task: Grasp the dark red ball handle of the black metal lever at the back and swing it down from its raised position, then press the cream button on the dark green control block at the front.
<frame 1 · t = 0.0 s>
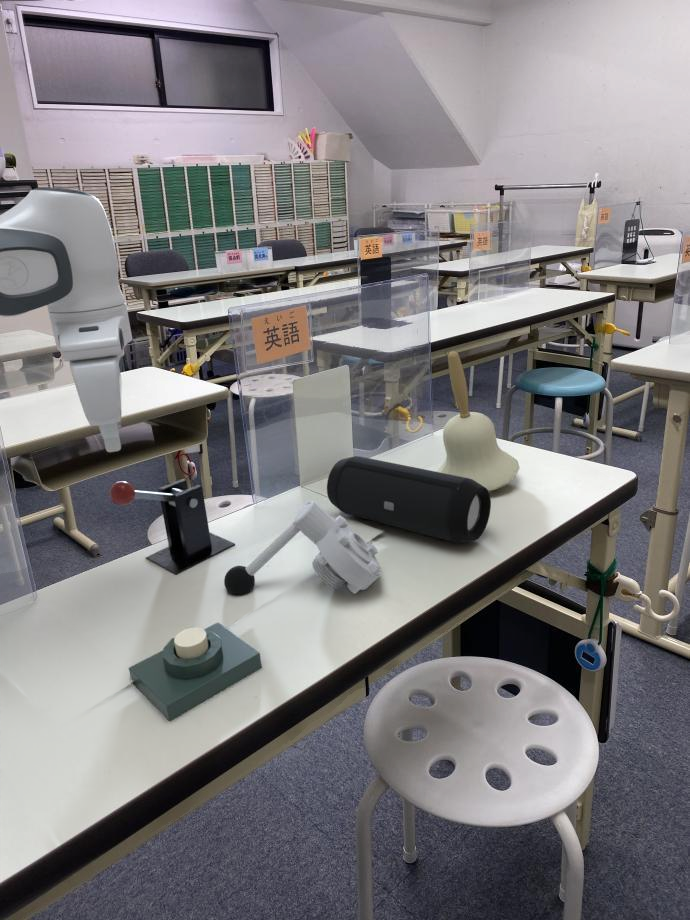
hand: (114, 438, 88), 23 cm above the table, tool pointing down, fingers open, 8 cm apart
lever: (152, 495, 98), point 12 cm above the table, hinge at 25.0°
portable speaker: (406, 526, 110), on the table
control block: (197, 675, 79), on the table
button: (191, 643, 77), point 5 cm above the table, slide at 0.2 cm
handbell: (476, 482, 125), on the table
mechanical valve: (304, 590, 95), on the table
bracket: (192, 557, 106), on the table
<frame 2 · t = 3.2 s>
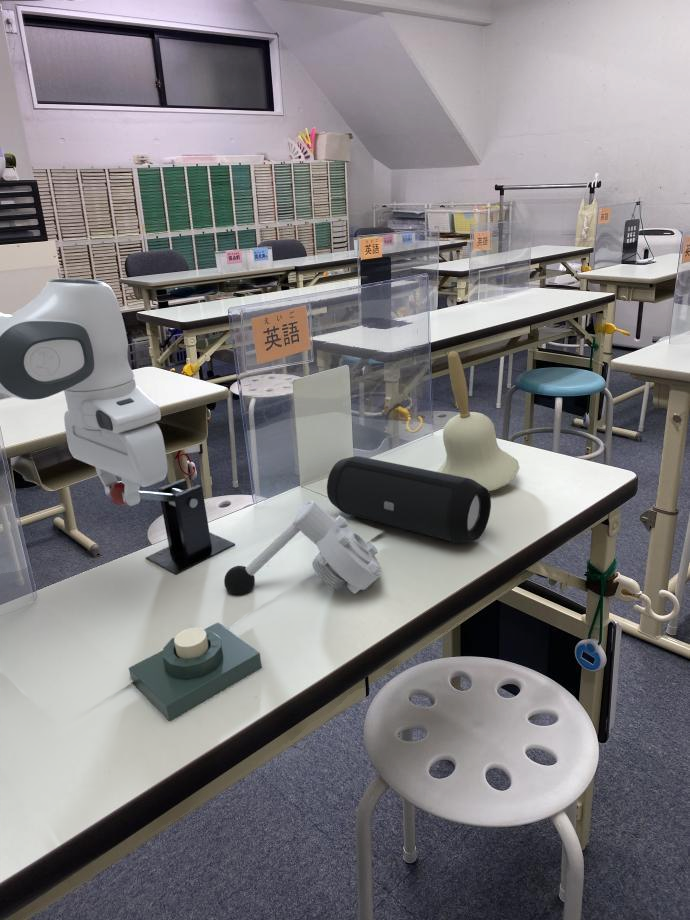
hand: (123, 499, 95), 13 cm above the table, tool pointing down, fingers closed on lever, 3 cm apart
lever: (152, 495, 98), point 12 cm above the table, hinge at 25.0°, touching gripper
everything else where it was.
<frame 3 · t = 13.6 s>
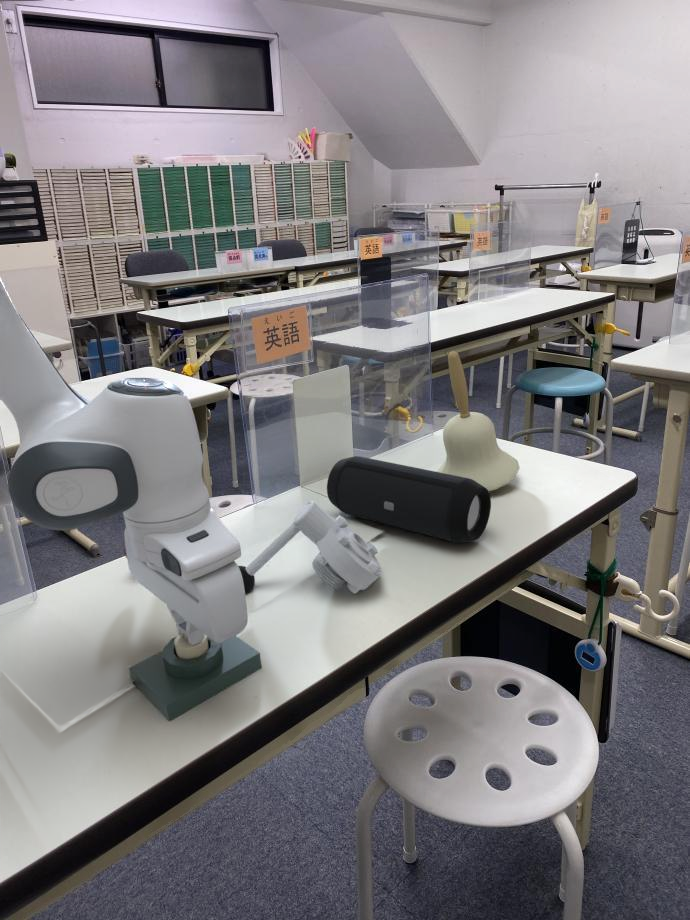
hand: (191, 638, 77), 5 cm above the table, tool pointing down, fingers closed, pressing on button
lever: (159, 524, 100), point 7 cm above the table, hinge at -29.8°
button: (191, 644, 77), point 4 cm above the table, slide at 0.0 cm, touching gripper
everything else where it was.
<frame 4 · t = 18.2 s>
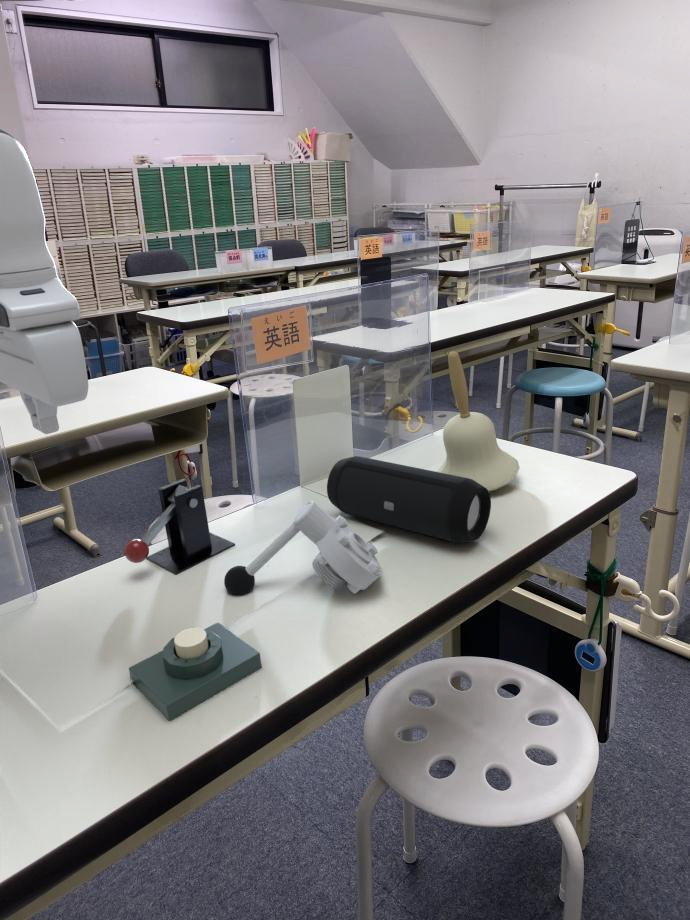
hand: (46, 430, 74), 29 cm above the table, tool pointing down, fingers closed
button: (191, 643, 77), point 5 cm above the table, slide at 0.1 cm
everything else where it was.
at the end: lever at -30° (first picture: +25°); button pushed in 1.0 cm at the most during the clip, back to where it started at the end; button slide at 0.1 cm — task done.
